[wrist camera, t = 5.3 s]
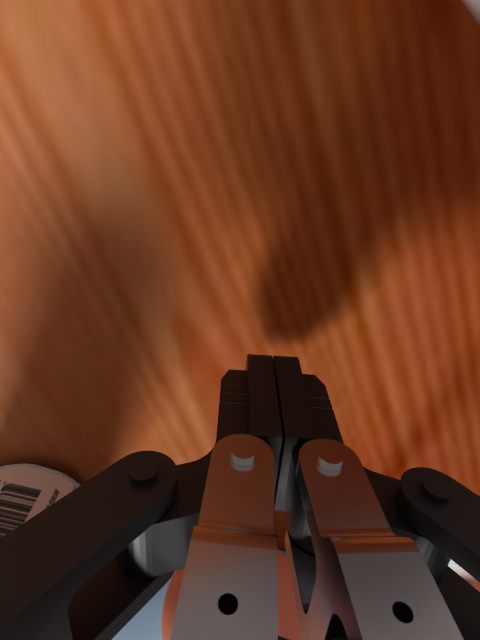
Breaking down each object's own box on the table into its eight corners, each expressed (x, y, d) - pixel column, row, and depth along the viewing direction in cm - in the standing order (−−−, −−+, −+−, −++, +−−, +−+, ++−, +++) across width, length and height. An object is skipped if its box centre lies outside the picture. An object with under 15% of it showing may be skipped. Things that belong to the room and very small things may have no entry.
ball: (332, 741, 14) (346, 577, 14) (169, 792, 12) (185, 602, 12) (267, 622, 19) (277, 503, 19) (146, 644, 17) (157, 513, 17)
